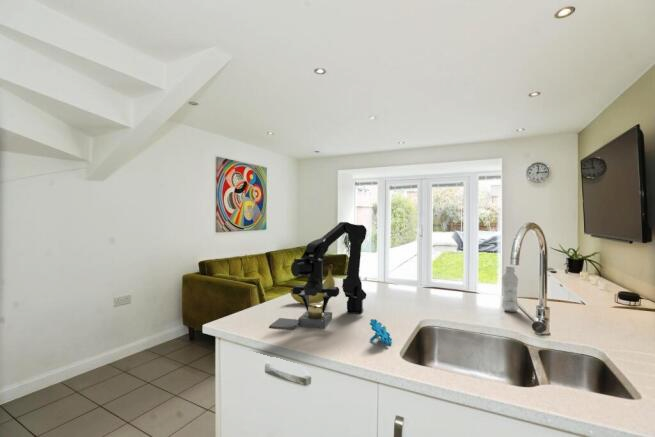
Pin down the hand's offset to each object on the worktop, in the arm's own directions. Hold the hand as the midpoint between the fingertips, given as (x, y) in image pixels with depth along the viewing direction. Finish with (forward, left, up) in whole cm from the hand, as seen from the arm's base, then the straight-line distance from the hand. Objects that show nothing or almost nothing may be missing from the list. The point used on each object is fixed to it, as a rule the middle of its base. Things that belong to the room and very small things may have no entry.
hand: (315, 311), depth 127 cm
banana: (+10, -26, -5) cm, 28 cm away
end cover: (0, 0, -4) cm, 4 cm away
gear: (-28, +13, -5) cm, 31 cm away
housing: (0, 0, -4) cm, 4 cm away
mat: (+11, +5, -4) cm, 13 cm away
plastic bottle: (-81, -37, -5) cm, 89 cm away
